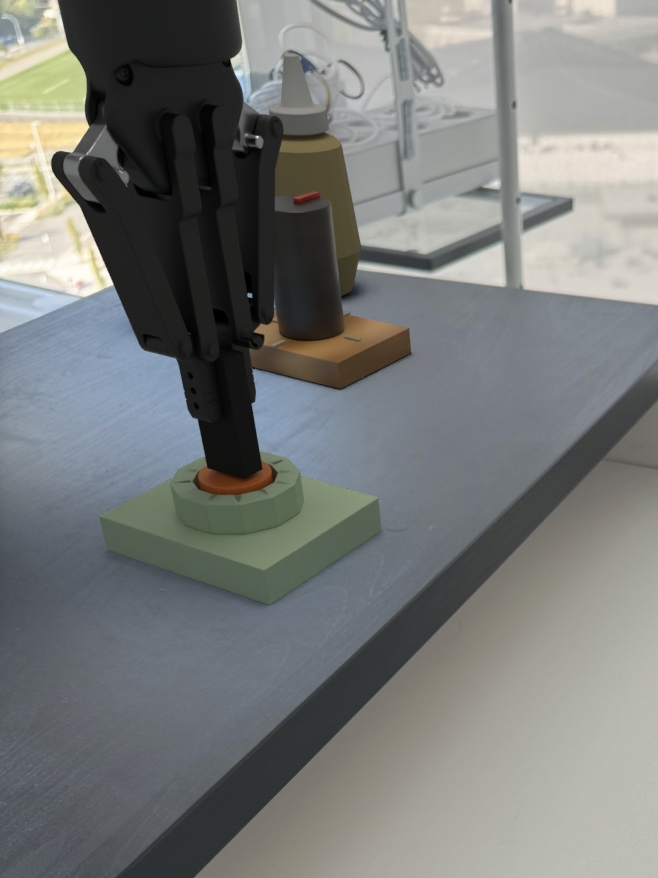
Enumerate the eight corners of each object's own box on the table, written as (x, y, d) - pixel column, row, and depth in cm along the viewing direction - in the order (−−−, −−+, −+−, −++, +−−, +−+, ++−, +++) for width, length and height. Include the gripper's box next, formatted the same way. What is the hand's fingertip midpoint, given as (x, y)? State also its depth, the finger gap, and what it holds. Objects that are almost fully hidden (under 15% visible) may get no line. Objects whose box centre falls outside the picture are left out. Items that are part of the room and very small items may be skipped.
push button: (188, 506, 66) (182, 477, 65) (237, 480, 68) (231, 451, 67) (243, 523, 64) (237, 494, 63) (290, 496, 67) (286, 467, 66)
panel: (216, 359, 90) (211, 330, 89) (293, 325, 97) (289, 298, 95) (339, 390, 86) (336, 360, 85) (412, 353, 92) (410, 325, 91)
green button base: (107, 550, 67) (89, 485, 64) (227, 485, 74) (216, 424, 71) (270, 606, 62) (258, 538, 60) (382, 531, 69) (375, 467, 67)
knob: (316, 344, 88) (299, 210, 82) (265, 332, 89) (244, 200, 83) (357, 326, 91) (344, 196, 85) (307, 314, 93) (290, 186, 87)
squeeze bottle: (256, 299, 102) (219, 58, 90) (300, 273, 108) (271, 45, 96) (340, 310, 100) (313, 66, 89) (380, 283, 106) (360, 51, 95)
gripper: (84, -33, 44) (203, 531, 59) (306, -53, 53) (360, 442, 68) (-50, -46, 47) (96, 497, 62) (182, -63, 56) (261, 416, 71)
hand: (235, 468), depth 65 cm, fingers closed
